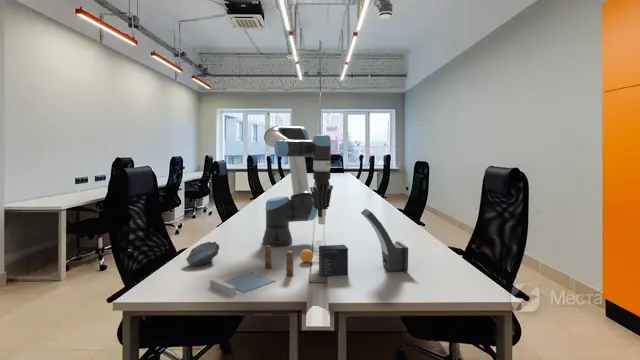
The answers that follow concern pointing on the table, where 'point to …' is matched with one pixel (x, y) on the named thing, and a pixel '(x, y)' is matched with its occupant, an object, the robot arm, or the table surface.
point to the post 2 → (289, 263)
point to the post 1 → (267, 257)
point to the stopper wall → (223, 286)
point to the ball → (306, 255)
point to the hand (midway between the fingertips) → (321, 223)
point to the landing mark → (248, 281)
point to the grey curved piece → (388, 246)
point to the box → (333, 260)
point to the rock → (203, 253)
